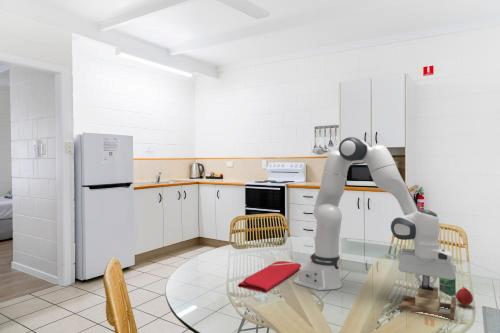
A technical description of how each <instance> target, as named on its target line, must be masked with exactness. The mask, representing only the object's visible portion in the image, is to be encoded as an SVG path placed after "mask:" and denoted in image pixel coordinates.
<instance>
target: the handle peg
mask: <svg viewBox="0 0 500 333" xmlns="http://www.w3.org/2000/svg"><path fill="white" fill-rule="evenodd" d="M421 276H422V289H425V290H430V287H429V283H430V282H431V281H430V280H431V276H425V275H421Z"/></svg>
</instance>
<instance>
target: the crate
mask: <svg viewBox="0 0 500 333" xmlns="http://www.w3.org/2000/svg"><path fill="white" fill-rule="evenodd" d="M438 292H439V288H438V286H434V288H430V290H425V289H422V286H419V285H418V288H417V292H416V295H415V296H414V297H415V307H419V308H424V309H429V310H434V311H439V312H440V310H439V309H441V308H440V302H441V294H439V293H438Z"/></svg>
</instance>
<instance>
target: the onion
mask: <svg viewBox="0 0 500 333" xmlns="http://www.w3.org/2000/svg"><path fill="white" fill-rule="evenodd" d="M455 297H456V301H457V302H458V303H459V304H460V305H461V306H462V307H468V306H470V305H471V304H472V303H473V302H474V301H473V300H474V296H473V294H472V293H471V291H470V290H469V289H467V288H466V286H463V285H462V287H461V288H460V289H459V290H457V291H456V295H455Z"/></svg>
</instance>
